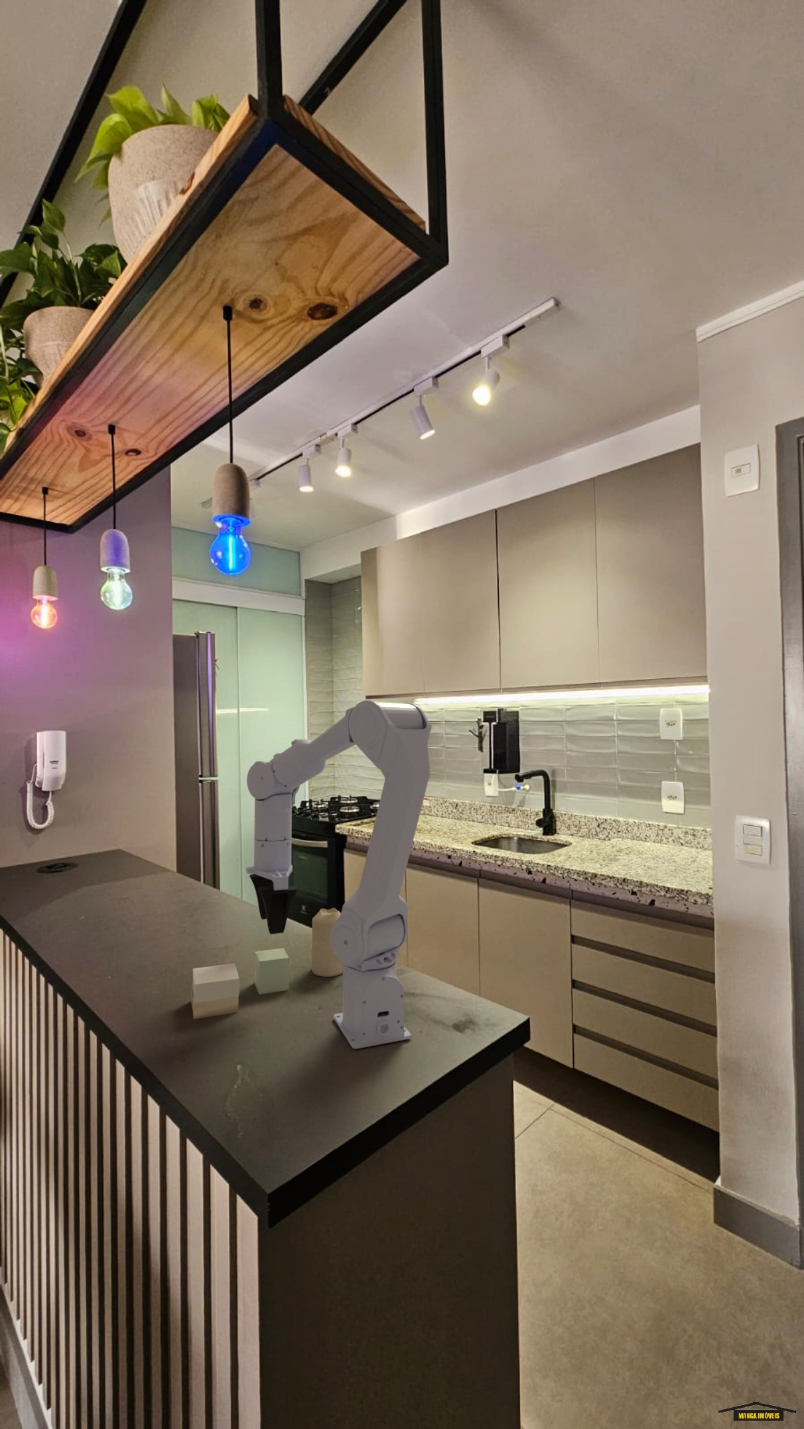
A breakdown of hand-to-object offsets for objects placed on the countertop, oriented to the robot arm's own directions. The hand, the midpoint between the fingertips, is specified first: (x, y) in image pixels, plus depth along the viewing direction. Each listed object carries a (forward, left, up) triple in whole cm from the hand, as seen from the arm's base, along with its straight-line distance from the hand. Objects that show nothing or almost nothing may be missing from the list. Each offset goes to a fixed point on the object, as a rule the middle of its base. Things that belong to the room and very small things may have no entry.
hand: (272, 925), depth 99 cm
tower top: (-4, +9, -7) cm, 12 cm away
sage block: (0, 0, -10) cm, 10 cm away
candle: (+3, -10, -10) cm, 14 cm away
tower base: (-4, +9, -10) cm, 14 cm away
